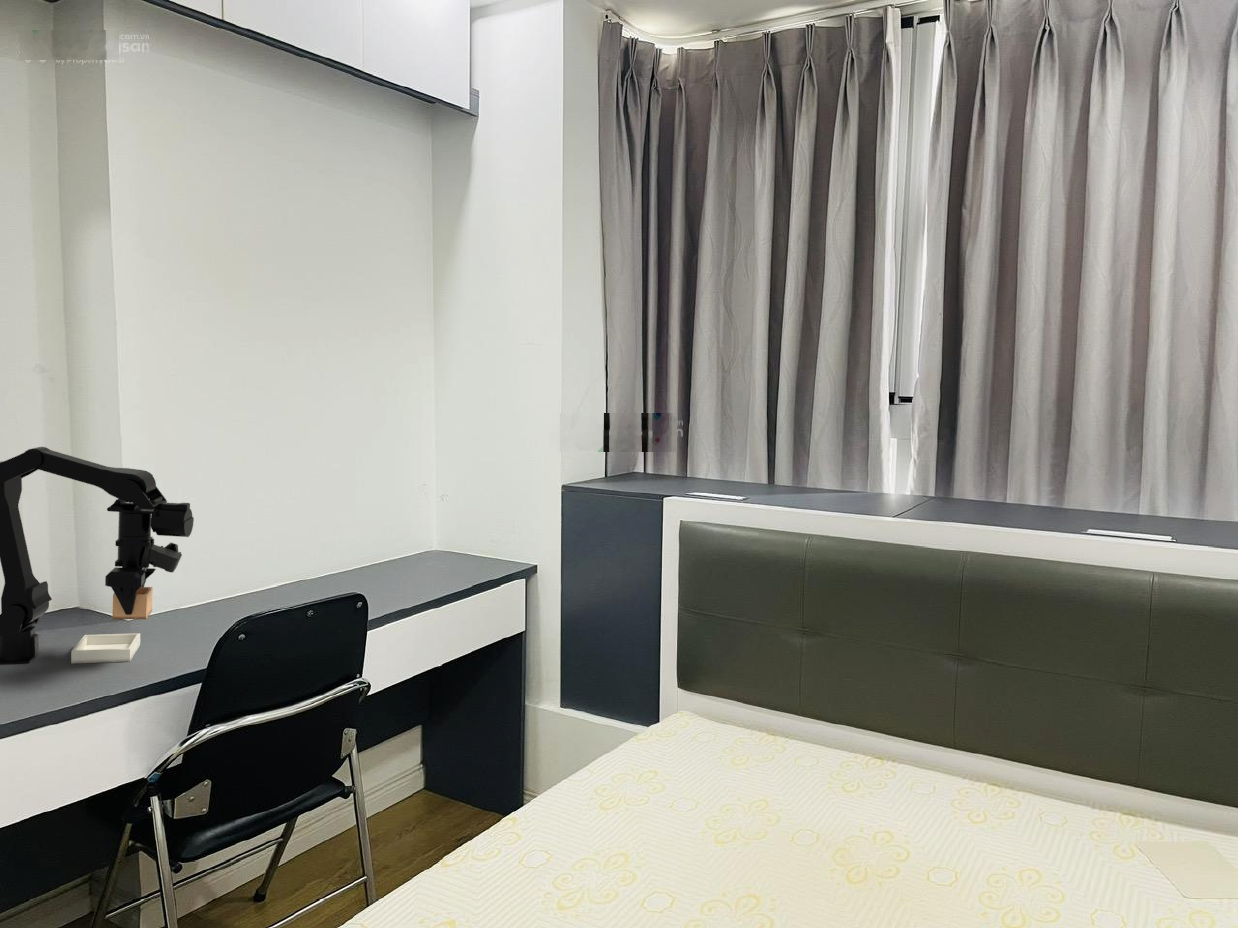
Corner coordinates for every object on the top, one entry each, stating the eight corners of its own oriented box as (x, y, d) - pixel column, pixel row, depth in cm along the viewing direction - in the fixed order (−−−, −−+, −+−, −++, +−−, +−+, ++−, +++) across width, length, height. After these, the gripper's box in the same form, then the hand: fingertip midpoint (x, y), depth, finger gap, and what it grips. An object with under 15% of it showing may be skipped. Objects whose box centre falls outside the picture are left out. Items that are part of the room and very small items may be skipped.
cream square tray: (71, 663, 178) (71, 651, 178) (84, 646, 188) (84, 634, 188) (130, 661, 181) (130, 649, 181) (140, 644, 191) (140, 633, 191)
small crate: (112, 619, 177) (113, 594, 176) (119, 610, 183) (120, 586, 182) (146, 619, 179) (146, 594, 178) (152, 610, 185) (152, 586, 184)
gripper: (170, 545, 173) (168, 623, 174) (186, 525, 190) (184, 597, 192) (105, 543, 169) (103, 623, 171) (127, 524, 187) (125, 597, 189)
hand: (132, 609), depth 181 cm, fingers closed on small crate, 6 cm apart
